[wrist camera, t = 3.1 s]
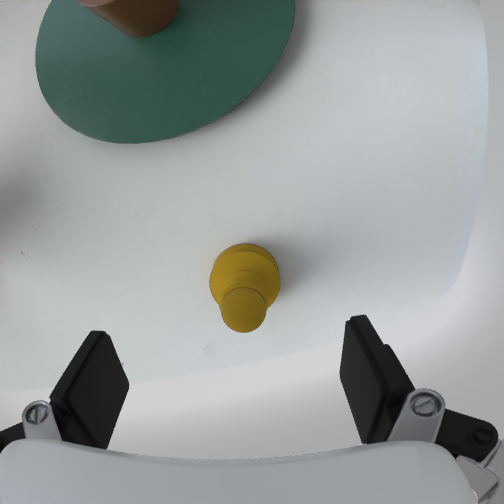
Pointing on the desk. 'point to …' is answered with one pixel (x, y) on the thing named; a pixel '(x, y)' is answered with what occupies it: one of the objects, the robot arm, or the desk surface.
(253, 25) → the tin lid
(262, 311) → the chess piece
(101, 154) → the desk surface
